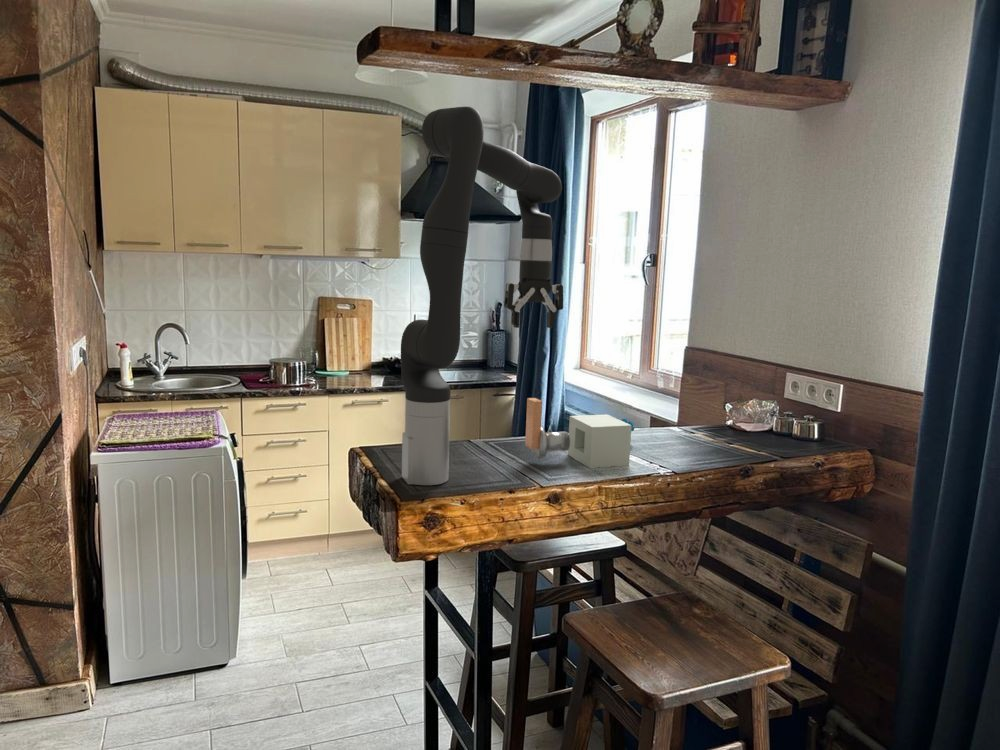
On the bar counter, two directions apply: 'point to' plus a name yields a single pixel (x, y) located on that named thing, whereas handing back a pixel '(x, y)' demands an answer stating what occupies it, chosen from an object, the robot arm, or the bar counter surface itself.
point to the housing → (599, 440)
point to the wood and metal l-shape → (542, 432)
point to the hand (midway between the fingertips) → (532, 327)
